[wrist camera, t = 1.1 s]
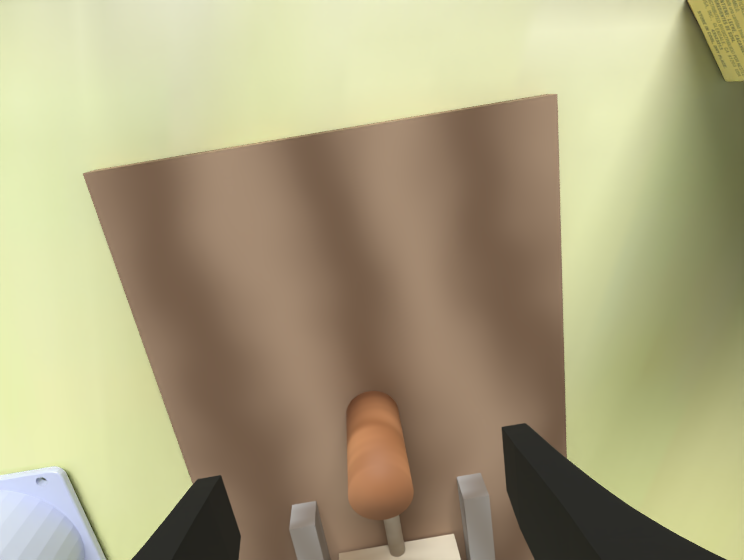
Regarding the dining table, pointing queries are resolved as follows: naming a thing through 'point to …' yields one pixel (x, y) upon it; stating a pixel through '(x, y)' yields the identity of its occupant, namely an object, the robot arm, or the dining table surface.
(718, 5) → the candy box
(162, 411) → the dining table surface
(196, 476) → the thin wooden panel
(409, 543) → the joystick
